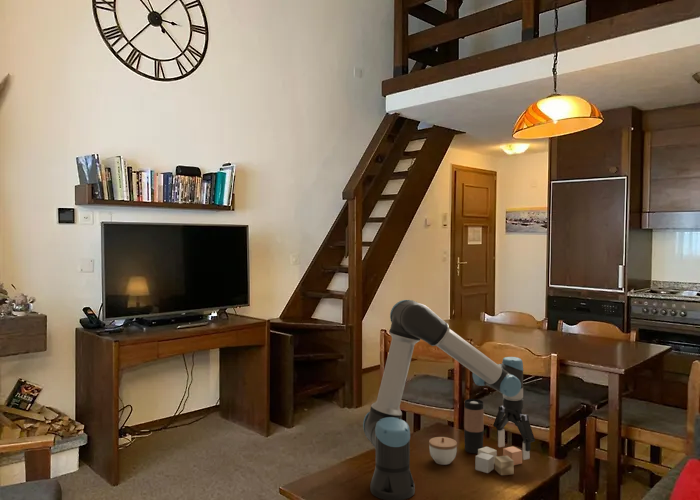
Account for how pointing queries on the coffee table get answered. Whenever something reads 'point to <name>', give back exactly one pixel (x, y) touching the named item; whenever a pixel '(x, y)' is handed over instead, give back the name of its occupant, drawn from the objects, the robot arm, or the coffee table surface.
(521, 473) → the coffee table surface
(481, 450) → the cube cream
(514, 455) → the cube terracotta
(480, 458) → the cube grey
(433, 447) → the lidded jar
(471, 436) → the travel mug
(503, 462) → the cube maple
